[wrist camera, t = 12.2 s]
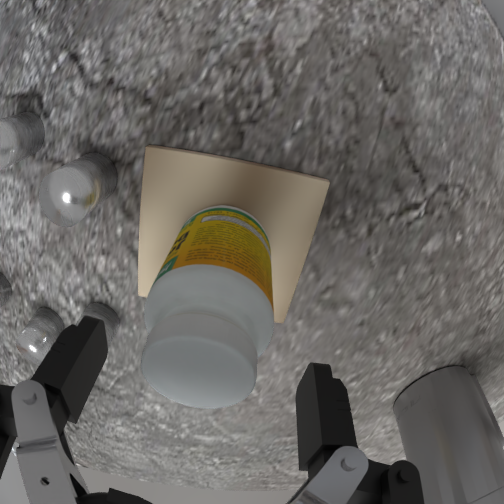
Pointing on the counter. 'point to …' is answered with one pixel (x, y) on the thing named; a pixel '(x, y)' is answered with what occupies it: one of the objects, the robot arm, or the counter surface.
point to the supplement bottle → (210, 310)
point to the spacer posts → (56, 219)
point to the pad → (230, 194)
